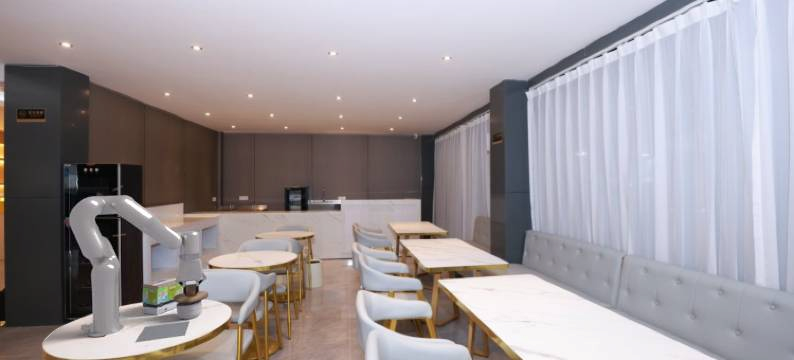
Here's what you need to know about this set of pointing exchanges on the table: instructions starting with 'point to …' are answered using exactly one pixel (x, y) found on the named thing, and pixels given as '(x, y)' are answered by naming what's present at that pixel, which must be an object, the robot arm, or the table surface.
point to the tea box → (160, 295)
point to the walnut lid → (190, 295)
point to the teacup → (189, 310)
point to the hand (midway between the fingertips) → (191, 293)
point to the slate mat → (163, 331)
